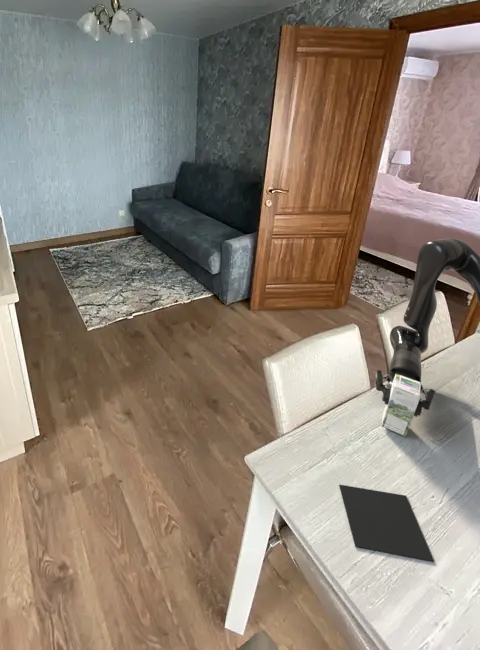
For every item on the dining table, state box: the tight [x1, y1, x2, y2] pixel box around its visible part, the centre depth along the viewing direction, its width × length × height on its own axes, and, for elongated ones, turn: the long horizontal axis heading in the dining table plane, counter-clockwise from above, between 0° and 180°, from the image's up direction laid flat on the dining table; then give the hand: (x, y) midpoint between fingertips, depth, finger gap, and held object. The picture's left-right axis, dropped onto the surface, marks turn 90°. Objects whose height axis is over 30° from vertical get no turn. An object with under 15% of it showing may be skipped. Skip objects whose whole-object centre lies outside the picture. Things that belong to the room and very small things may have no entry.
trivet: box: [338, 484, 435, 563], centre depth 72 cm, size 14×12×1 cm
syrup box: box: [381, 374, 422, 437], centre depth 90 cm, size 6×6×14 cm
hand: (401, 407), depth 87 cm, fingers closed on syrup box, 5 cm apart
